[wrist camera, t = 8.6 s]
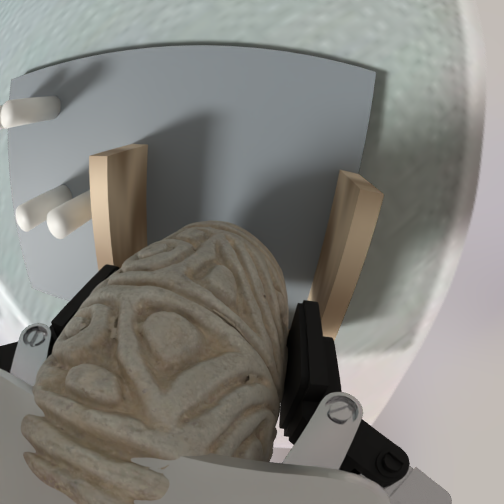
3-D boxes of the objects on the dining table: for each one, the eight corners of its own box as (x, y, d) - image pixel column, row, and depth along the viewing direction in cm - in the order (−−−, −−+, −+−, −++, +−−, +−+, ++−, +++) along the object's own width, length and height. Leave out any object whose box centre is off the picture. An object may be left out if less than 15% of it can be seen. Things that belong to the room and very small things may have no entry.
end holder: (132, 143, 14) (89, 155, 10) (358, 173, 13) (384, 194, 10) (139, 312, 19) (115, 350, 15) (309, 343, 19) (311, 389, 15)
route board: (20, 79, 12) (-28, 83, 8) (370, 74, 12) (408, 58, 7) (37, 282, 21) (5, 312, 16) (304, 343, 20) (307, 398, 15)
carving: (212, 171, 12) (-37, 454, 1) (319, 292, 14) (340, 563, 3) (128, 255, 14) (-20, 448, 3) (226, 346, 16) (177, 550, 5)
